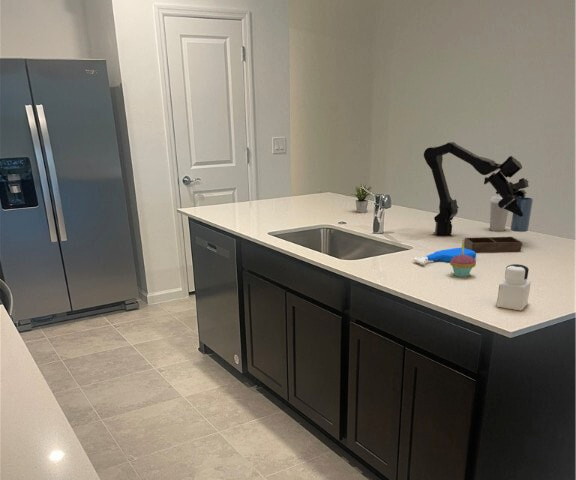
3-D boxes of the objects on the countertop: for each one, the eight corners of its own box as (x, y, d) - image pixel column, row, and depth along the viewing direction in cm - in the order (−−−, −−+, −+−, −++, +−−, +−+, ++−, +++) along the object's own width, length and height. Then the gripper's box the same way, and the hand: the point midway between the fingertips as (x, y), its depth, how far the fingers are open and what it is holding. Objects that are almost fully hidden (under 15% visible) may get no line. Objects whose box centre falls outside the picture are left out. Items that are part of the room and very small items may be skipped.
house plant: (376, 214, 301) (378, 183, 295) (351, 214, 301) (352, 184, 295) (373, 209, 314) (374, 180, 308) (349, 210, 314) (350, 181, 308)
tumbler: (514, 231, 226) (518, 199, 221) (507, 228, 232) (512, 197, 227) (530, 231, 226) (535, 199, 221) (523, 228, 232) (528, 197, 227)
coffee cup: (507, 228, 261) (512, 196, 255) (508, 232, 252) (512, 199, 247) (486, 227, 264) (490, 195, 258) (486, 231, 255) (490, 198, 250)
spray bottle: (460, 246, 217) (408, 254, 208) (479, 252, 207) (425, 260, 199) (459, 253, 218) (407, 261, 210) (478, 259, 209) (425, 268, 200)
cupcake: (445, 272, 194) (448, 238, 190) (468, 271, 195) (472, 237, 190) (454, 279, 186) (458, 244, 182) (478, 278, 187) (482, 243, 182)
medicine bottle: (502, 300, 166) (508, 261, 161) (527, 304, 162) (533, 264, 157) (496, 306, 160) (501, 267, 156) (521, 311, 156) (527, 270, 152)
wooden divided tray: (471, 252, 219) (472, 243, 218) (463, 246, 229) (464, 237, 227) (520, 251, 219) (522, 242, 218) (510, 245, 229) (512, 236, 227)
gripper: (510, 174, 216) (534, 205, 213) (524, 169, 229) (548, 198, 227) (487, 193, 223) (511, 223, 221) (503, 187, 237) (525, 215, 235)
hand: (524, 214), depth 226 cm, fingers closed on tumbler, 7 cm apart
